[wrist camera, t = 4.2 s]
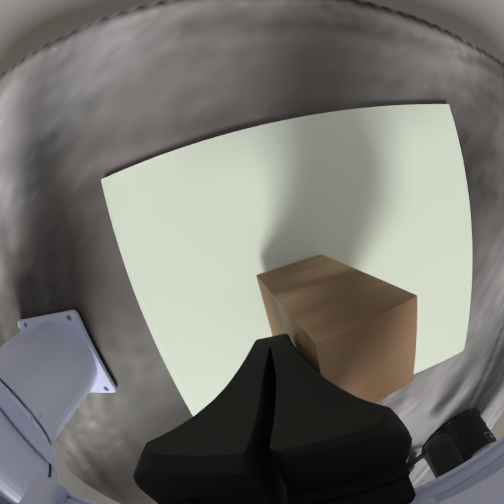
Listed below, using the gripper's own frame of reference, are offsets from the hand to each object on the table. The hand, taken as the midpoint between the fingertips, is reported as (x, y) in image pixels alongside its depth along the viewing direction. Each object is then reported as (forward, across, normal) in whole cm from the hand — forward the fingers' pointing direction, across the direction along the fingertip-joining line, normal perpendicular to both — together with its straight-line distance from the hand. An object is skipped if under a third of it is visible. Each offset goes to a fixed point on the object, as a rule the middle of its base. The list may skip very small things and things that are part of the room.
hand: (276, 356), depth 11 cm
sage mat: (+6, -3, 0) cm, 7 cm away
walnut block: (+6, -2, 0) cm, 6 cm away
